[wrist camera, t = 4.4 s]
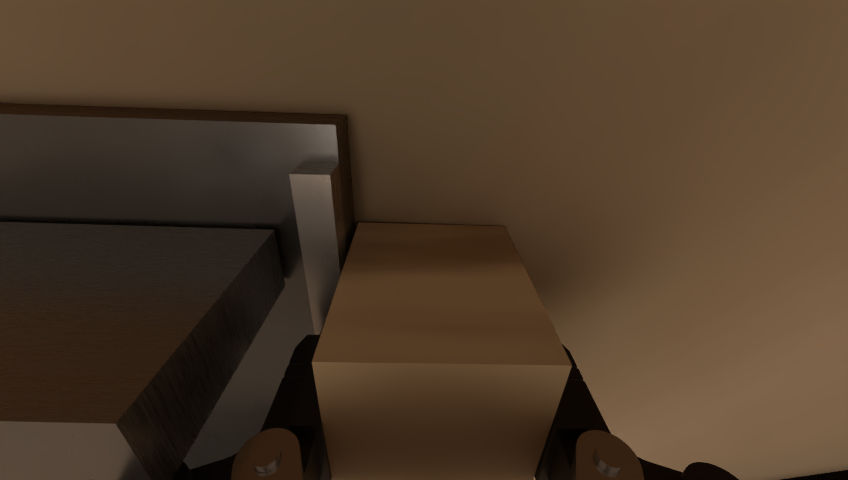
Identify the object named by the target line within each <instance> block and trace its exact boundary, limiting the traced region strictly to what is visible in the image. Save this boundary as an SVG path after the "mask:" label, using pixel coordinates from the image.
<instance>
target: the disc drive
mask: <svg viewBox="0 0 848 480" xmlns="http://www.w3.org/2000/svg"><path fill="white" fill-rule="evenodd" d="M782 480H848V470H845V471H838V472H831V473H824V474H817V475H810V476H803V477H796V478H789V479H782Z"/></svg>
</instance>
